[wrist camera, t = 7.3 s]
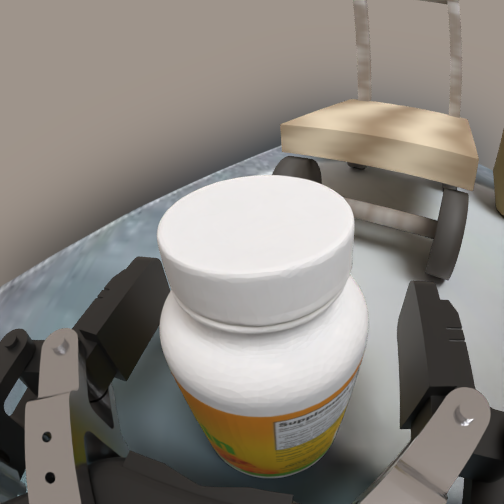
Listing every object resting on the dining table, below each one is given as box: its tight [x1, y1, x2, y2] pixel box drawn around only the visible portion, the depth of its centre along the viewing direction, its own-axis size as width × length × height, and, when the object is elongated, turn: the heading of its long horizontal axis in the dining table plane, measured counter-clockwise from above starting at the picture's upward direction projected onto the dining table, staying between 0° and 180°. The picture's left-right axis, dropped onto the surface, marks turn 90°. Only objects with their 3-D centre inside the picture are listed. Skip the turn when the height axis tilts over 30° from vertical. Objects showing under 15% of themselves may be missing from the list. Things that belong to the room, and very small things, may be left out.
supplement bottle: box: [157, 175, 369, 478], centre depth 9 cm, size 5×5×10 cm
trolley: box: [272, 0, 479, 280], centre depth 20 cm, size 13×22×22 cm, turn 146°
